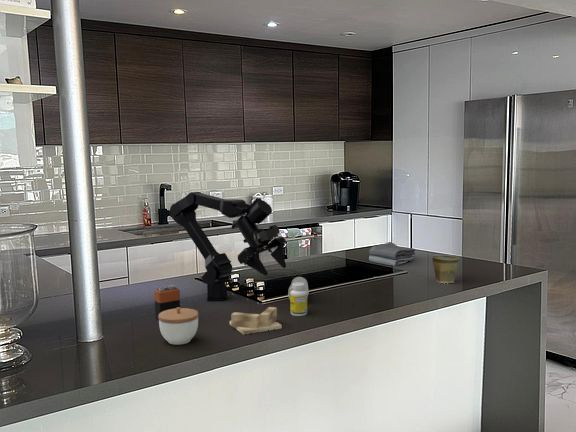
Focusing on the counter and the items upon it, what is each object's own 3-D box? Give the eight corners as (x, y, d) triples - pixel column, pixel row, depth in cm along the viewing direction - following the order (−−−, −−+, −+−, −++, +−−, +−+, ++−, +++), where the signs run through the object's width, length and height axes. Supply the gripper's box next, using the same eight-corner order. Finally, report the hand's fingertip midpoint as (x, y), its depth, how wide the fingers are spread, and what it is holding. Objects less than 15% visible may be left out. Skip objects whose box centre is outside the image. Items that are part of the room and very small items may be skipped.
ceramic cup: (457, 286, 210) (458, 260, 209) (430, 284, 214) (430, 258, 212) (460, 278, 222) (460, 254, 221) (434, 276, 226) (435, 252, 224)
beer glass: (305, 296, 202) (304, 307, 187) (287, 290, 202) (284, 301, 187) (311, 279, 201) (311, 288, 186) (293, 273, 201) (291, 281, 186)
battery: (181, 317, 174) (180, 286, 173) (160, 321, 170) (159, 289, 169) (174, 314, 177) (173, 283, 176) (154, 318, 173) (153, 286, 172)
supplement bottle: (289, 311, 179) (289, 281, 178) (306, 311, 180) (306, 281, 178) (291, 316, 174) (290, 286, 172) (308, 316, 174) (308, 285, 173)
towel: (367, 263, 255) (367, 246, 254) (388, 257, 269) (389, 241, 268) (396, 267, 245) (396, 250, 244) (417, 261, 258) (417, 244, 257)
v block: (225, 324, 166) (225, 310, 166) (269, 317, 173) (269, 303, 172) (239, 335, 156) (239, 320, 156) (285, 327, 163) (285, 312, 162)
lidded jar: (205, 342, 151) (204, 309, 150) (167, 350, 145) (166, 315, 144) (189, 332, 160) (188, 300, 159) (153, 339, 154) (152, 306, 153)
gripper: (243, 224, 172) (270, 265, 168) (282, 212, 186) (308, 251, 182) (226, 243, 178) (251, 283, 174) (264, 231, 192) (289, 268, 188)
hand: (276, 271), depth 180 cm, fingers open, 9 cm apart
